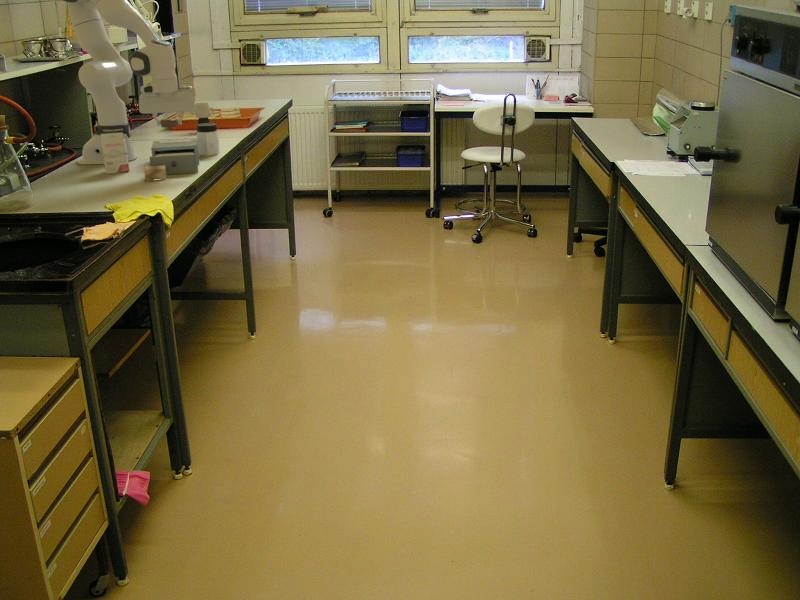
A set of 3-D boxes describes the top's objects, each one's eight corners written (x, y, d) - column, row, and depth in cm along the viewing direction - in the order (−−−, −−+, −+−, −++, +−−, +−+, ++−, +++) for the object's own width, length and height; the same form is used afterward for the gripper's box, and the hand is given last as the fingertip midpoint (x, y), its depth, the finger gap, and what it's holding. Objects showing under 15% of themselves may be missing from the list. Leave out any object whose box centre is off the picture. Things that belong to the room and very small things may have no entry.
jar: (202, 156, 345) (199, 126, 341) (195, 153, 352) (192, 124, 347) (223, 154, 350) (220, 124, 346) (216, 151, 356) (213, 122, 352)
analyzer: (153, 167, 327) (151, 147, 324) (155, 159, 341) (153, 140, 339) (199, 164, 330) (197, 144, 327) (199, 157, 344) (197, 137, 342)
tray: (151, 175, 311) (149, 157, 309) (154, 166, 327) (152, 149, 325) (198, 172, 314) (196, 154, 312) (198, 163, 330) (196, 146, 328)
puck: (160, 127, 313) (160, 121, 312) (161, 125, 319) (161, 118, 318) (177, 127, 314) (177, 120, 313) (178, 124, 320) (177, 118, 319)
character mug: (217, 129, 410) (214, 102, 405) (214, 132, 403) (212, 104, 399) (194, 130, 410) (191, 102, 405) (191, 132, 403) (188, 104, 398)
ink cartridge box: (129, 169, 325) (124, 130, 320) (129, 171, 320) (123, 132, 315) (105, 171, 323) (100, 132, 318) (105, 173, 318) (99, 134, 313)
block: (145, 181, 304) (144, 170, 302) (146, 177, 310) (145, 166, 309) (165, 179, 305) (164, 168, 304) (166, 175, 312) (165, 165, 310)
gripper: (194, 84, 316) (198, 122, 321) (137, 86, 312) (142, 124, 317) (194, 86, 310) (198, 124, 315) (136, 88, 307) (140, 127, 312)
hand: (169, 124), depth 316 cm, fingers closed on puck, 6 cm apart
